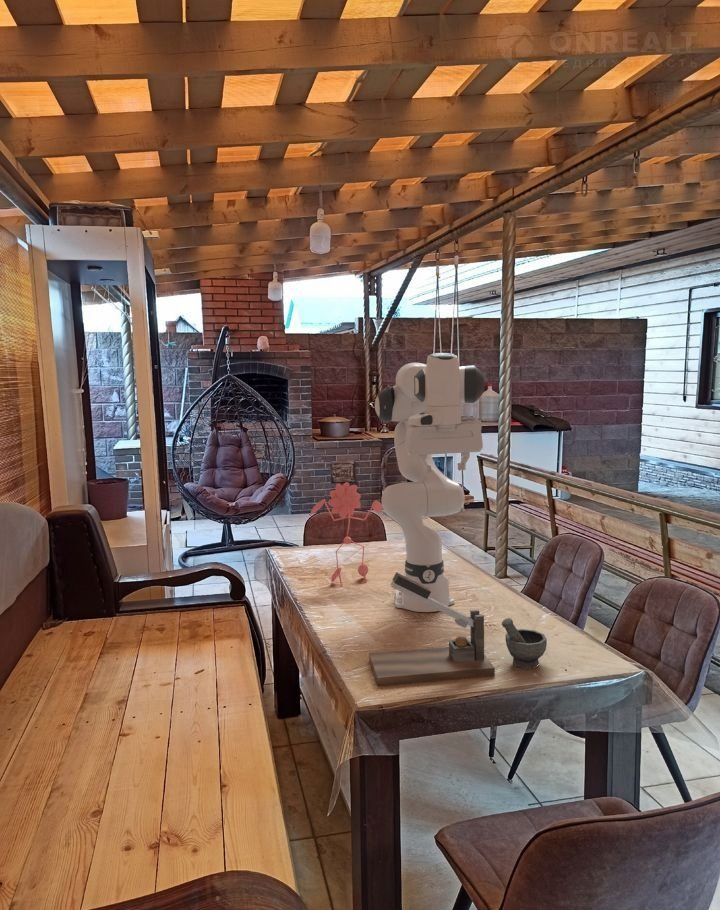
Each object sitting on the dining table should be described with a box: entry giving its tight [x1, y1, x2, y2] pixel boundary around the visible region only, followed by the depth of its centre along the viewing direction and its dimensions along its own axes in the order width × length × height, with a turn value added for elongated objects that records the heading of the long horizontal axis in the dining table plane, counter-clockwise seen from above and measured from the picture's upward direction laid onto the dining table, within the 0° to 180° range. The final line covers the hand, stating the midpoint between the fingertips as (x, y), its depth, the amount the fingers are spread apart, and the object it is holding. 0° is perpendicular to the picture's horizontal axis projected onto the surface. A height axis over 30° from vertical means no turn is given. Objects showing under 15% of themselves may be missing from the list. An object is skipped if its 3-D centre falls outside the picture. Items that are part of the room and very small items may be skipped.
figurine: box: [309, 481, 383, 587], centre depth 231 cm, size 15×26×35 cm, turn 112°
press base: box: [368, 609, 496, 687], centre depth 159 cm, size 14×28×13 cm, turn 97°
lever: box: [389, 572, 475, 629], centre depth 158 cm, size 3×24×4 cm, turn 97°
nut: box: [454, 635, 468, 647], centre depth 160 cm, size 3×3×3 cm
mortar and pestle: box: [501, 617, 548, 670], centre depth 160 cm, size 11×9×12 cm
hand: (444, 471), depth 167 cm, fingers open, 8 cm apart
